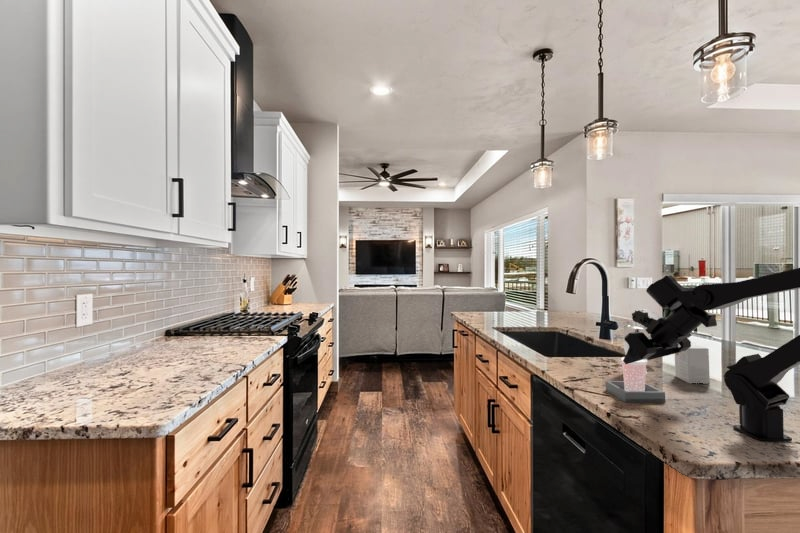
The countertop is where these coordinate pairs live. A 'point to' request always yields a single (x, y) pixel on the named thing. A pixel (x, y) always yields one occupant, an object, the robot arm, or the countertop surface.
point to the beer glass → (630, 330)
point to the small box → (693, 365)
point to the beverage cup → (634, 375)
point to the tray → (635, 393)
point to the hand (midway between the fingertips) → (636, 360)
